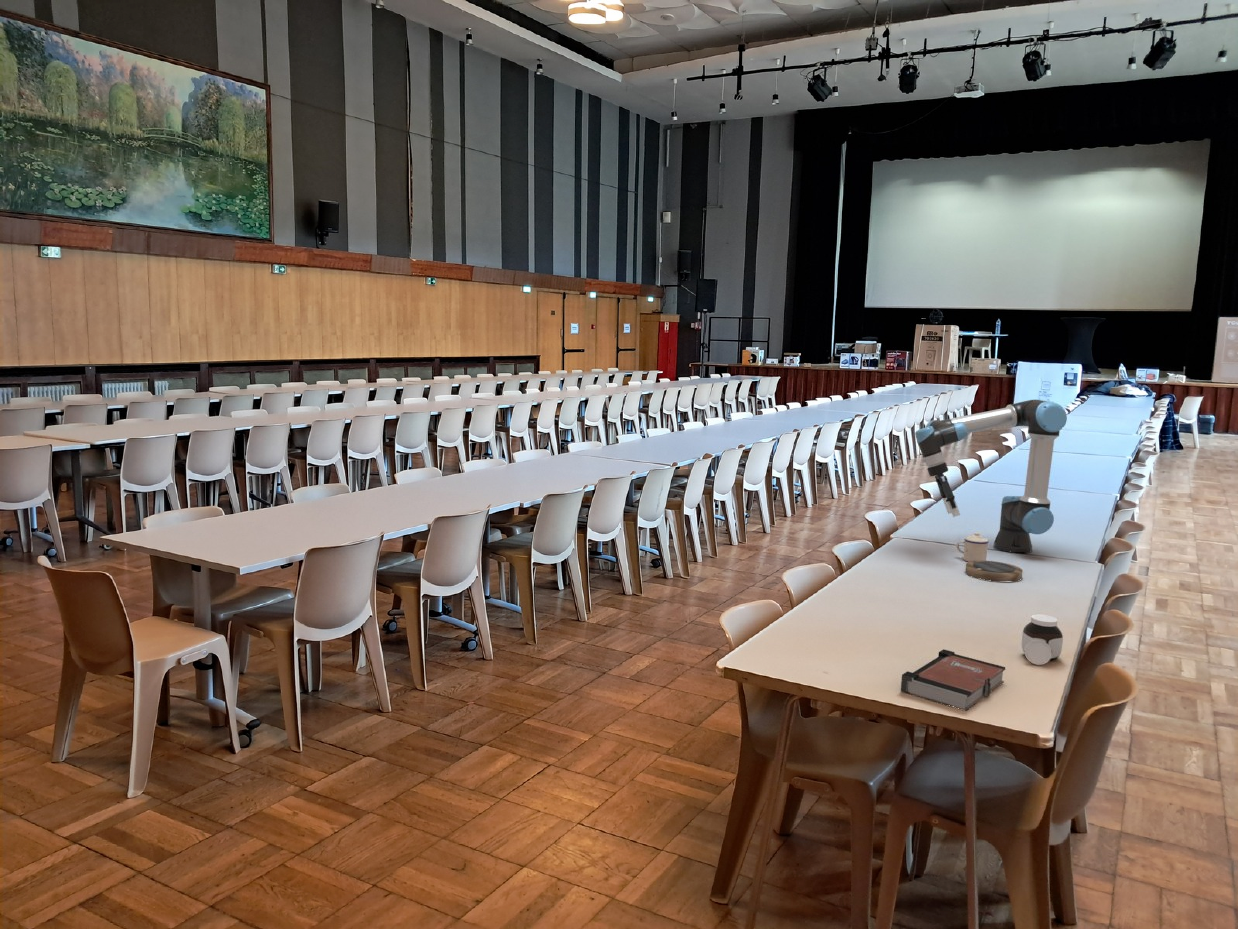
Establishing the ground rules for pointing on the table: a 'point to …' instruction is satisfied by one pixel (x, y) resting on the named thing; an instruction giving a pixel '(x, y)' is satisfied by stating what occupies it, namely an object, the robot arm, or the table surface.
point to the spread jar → (1042, 639)
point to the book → (953, 680)
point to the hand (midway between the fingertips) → (954, 514)
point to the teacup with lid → (974, 548)
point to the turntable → (993, 571)
